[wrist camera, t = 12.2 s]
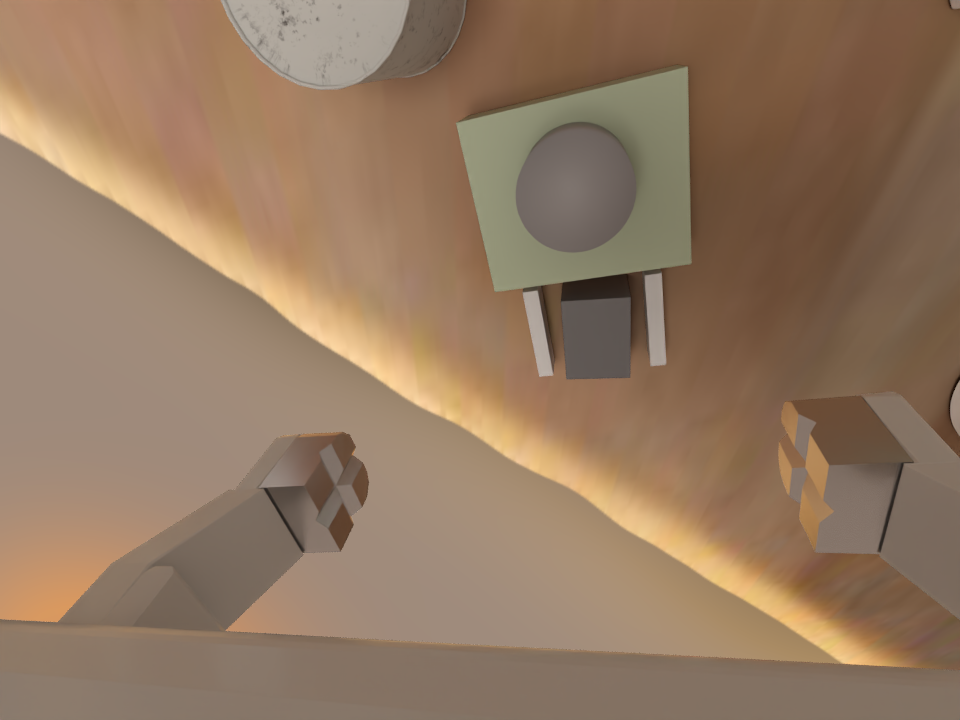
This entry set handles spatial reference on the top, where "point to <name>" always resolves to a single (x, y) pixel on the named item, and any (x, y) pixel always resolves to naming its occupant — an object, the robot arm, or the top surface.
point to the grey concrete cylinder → (347, 37)
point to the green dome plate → (585, 192)
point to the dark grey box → (597, 327)
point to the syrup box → (955, 4)
